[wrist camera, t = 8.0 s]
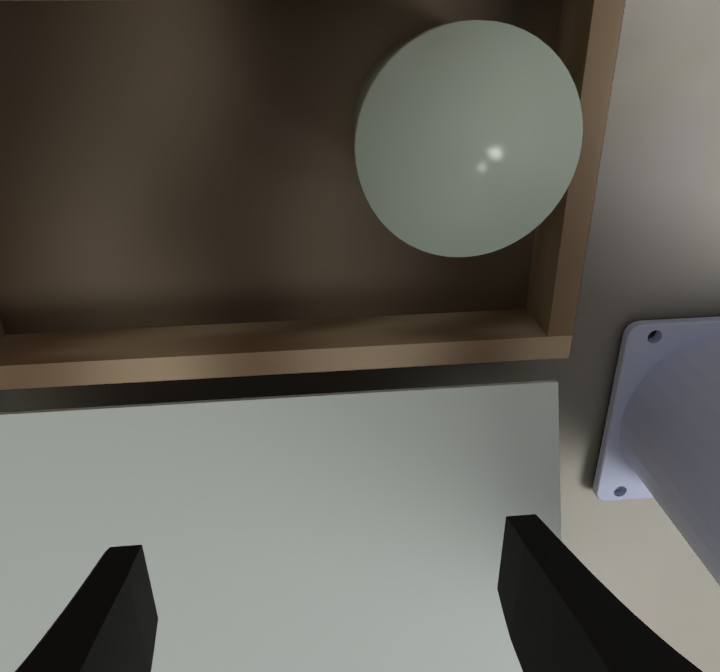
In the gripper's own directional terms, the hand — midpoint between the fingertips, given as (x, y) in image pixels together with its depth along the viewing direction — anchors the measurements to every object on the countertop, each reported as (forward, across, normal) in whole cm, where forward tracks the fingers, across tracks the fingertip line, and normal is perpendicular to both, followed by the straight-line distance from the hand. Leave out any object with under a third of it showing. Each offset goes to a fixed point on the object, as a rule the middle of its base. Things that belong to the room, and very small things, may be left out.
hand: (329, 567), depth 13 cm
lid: (+5, +1, +5) cm, 8 cm away
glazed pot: (+10, -4, -7) cm, 13 cm away
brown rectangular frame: (+10, +1, -1) cm, 11 cm away
